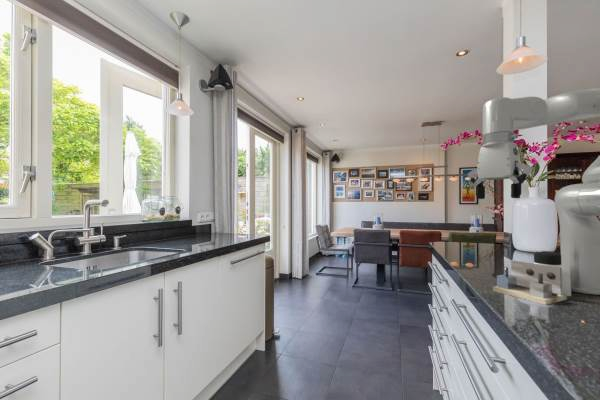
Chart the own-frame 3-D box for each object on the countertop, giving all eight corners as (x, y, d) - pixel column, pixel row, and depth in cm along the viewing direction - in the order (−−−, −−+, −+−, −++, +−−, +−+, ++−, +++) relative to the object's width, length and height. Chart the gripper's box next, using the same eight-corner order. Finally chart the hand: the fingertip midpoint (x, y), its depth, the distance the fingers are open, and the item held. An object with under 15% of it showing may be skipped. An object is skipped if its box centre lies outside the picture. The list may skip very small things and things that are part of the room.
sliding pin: (505, 284, 84) (505, 265, 84) (516, 287, 81) (516, 267, 81) (497, 286, 83) (496, 267, 83) (508, 289, 80) (507, 269, 80)
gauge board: (513, 286, 86) (513, 259, 87) (567, 299, 74) (566, 267, 75) (492, 290, 82) (492, 262, 83) (545, 304, 71) (544, 271, 71)
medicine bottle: (572, 297, 77) (570, 254, 78) (542, 296, 79) (540, 253, 79) (554, 290, 84) (552, 250, 85) (527, 288, 86) (525, 249, 86)
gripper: (539, 136, 77) (539, 198, 76) (476, 147, 93) (476, 199, 92) (523, 132, 74) (523, 197, 73) (461, 145, 89) (461, 198, 89)
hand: (497, 198), depth 83 cm, fingers open, 9 cm apart
